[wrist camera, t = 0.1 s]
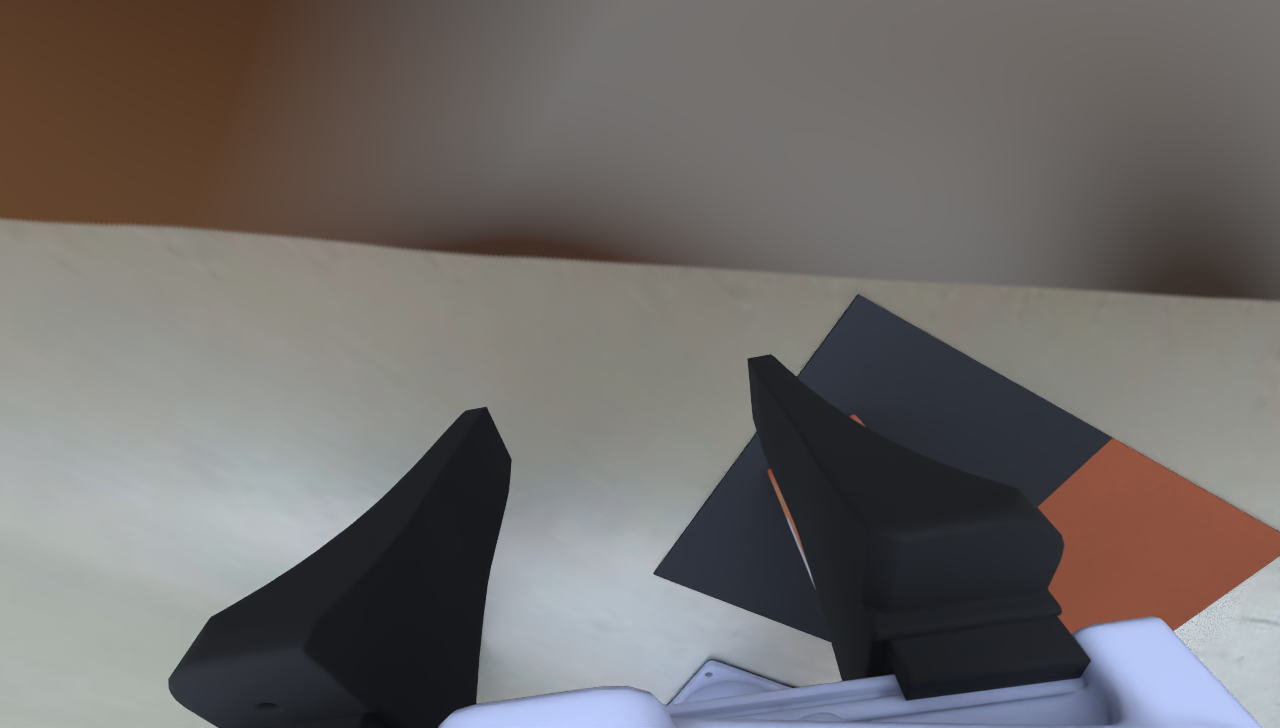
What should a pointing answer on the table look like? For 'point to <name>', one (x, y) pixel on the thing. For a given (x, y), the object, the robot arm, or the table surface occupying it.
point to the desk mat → (990, 448)
